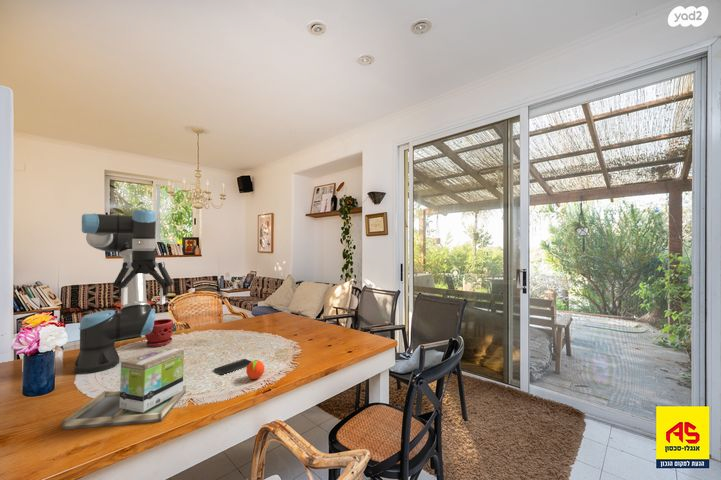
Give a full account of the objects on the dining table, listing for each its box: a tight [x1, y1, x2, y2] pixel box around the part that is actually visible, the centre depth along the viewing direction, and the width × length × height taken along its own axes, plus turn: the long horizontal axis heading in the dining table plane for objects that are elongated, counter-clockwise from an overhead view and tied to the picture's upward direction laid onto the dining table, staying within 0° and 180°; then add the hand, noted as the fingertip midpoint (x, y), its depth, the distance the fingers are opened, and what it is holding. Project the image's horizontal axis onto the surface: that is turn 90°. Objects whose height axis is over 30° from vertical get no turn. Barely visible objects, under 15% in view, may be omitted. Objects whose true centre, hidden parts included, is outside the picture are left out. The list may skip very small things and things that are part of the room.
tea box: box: [119, 346, 185, 413], centre depth 103 cm, size 15×10×15 cm, turn 164°
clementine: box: [245, 359, 265, 380], centre depth 124 cm, size 8×7×7 cm
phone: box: [213, 358, 253, 376], centre depth 135 cm, size 8×1×15 cm
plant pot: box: [144, 318, 174, 348], centre depth 165 cm, size 13×13×12 cm
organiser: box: [61, 385, 187, 431], centre depth 101 cm, size 26×19×2 cm
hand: (143, 304), depth 121 cm, fingers open, 13 cm apart
